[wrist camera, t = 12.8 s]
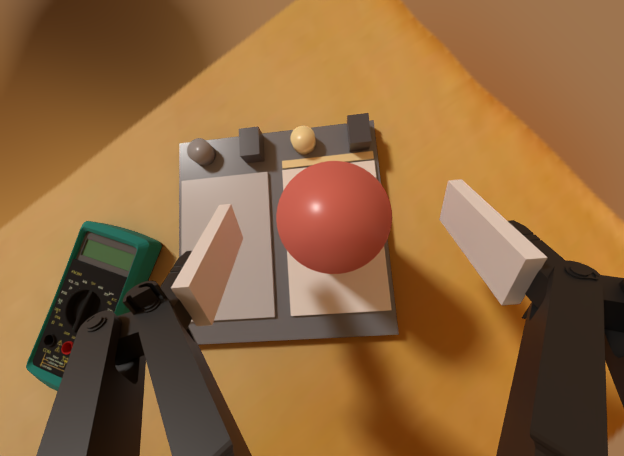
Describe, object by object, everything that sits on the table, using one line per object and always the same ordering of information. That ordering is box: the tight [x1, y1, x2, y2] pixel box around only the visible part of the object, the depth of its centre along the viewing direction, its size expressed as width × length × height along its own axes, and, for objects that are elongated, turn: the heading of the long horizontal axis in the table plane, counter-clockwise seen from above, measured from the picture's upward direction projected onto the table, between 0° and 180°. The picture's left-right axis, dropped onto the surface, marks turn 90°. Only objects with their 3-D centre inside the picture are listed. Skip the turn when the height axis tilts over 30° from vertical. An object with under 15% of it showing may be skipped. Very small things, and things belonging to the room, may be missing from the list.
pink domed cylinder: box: [276, 161, 392, 274], centre depth 17 cm, size 6×6×10 cm
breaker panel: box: [179, 113, 399, 344], centre depth 22 cm, size 19×19×3 cm
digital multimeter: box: [26, 221, 162, 391], centre depth 23 cm, size 7×15×3 cm, turn 163°
